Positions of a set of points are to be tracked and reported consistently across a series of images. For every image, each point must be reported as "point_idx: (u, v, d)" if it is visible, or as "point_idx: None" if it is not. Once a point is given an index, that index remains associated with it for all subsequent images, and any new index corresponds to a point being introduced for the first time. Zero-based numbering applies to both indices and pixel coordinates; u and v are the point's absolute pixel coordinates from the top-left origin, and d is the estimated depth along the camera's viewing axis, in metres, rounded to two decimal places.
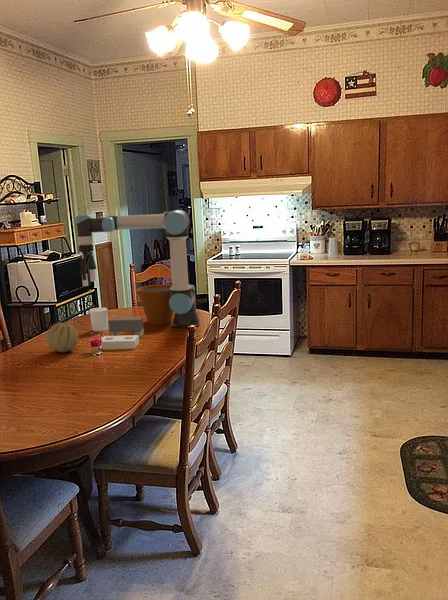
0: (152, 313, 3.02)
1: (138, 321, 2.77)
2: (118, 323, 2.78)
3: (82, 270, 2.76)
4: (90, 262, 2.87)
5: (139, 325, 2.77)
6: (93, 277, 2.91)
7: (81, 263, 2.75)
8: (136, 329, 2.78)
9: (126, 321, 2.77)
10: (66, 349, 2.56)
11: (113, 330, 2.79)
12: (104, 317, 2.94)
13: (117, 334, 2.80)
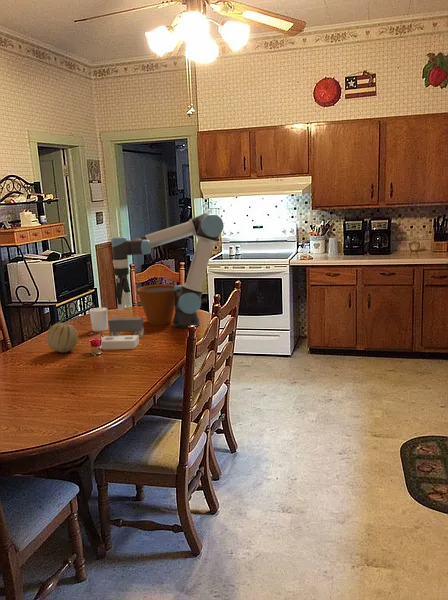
0: (152, 313, 3.02)
1: (138, 321, 2.77)
2: (118, 323, 2.78)
3: None
4: (124, 285, 2.80)
5: (139, 325, 2.77)
6: (127, 300, 2.84)
7: (117, 287, 2.68)
8: (136, 329, 2.78)
9: (126, 321, 2.77)
10: (66, 349, 2.56)
11: (113, 330, 2.79)
12: (104, 317, 2.94)
13: (117, 334, 2.80)
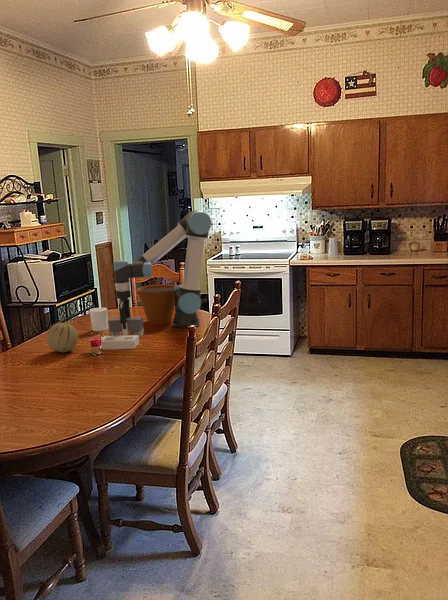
0: (152, 313, 3.02)
1: (138, 321, 2.77)
2: (119, 323, 2.78)
3: None
4: (126, 309, 2.80)
5: (139, 325, 2.77)
6: None
7: (120, 313, 2.73)
8: (136, 329, 2.78)
9: None
10: (66, 349, 2.56)
11: (113, 330, 2.79)
12: (104, 317, 2.94)
13: (117, 334, 2.80)
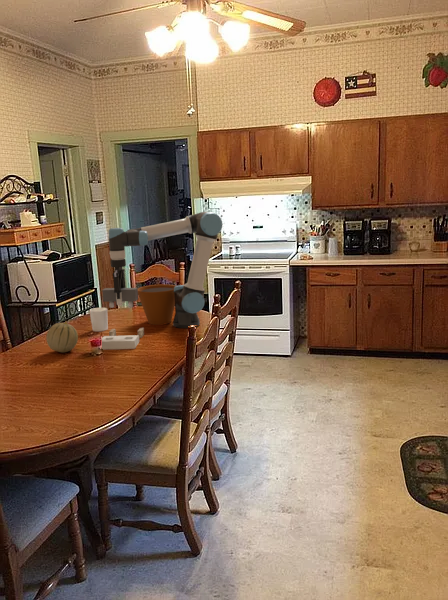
0: (152, 313, 3.02)
1: (133, 291, 2.69)
2: (113, 292, 2.70)
3: None
4: (121, 279, 2.73)
5: (134, 295, 2.69)
6: None
7: (114, 282, 2.65)
8: (130, 299, 2.70)
9: None
10: (66, 349, 2.56)
11: (107, 300, 2.71)
12: (104, 317, 2.94)
13: (111, 304, 2.73)
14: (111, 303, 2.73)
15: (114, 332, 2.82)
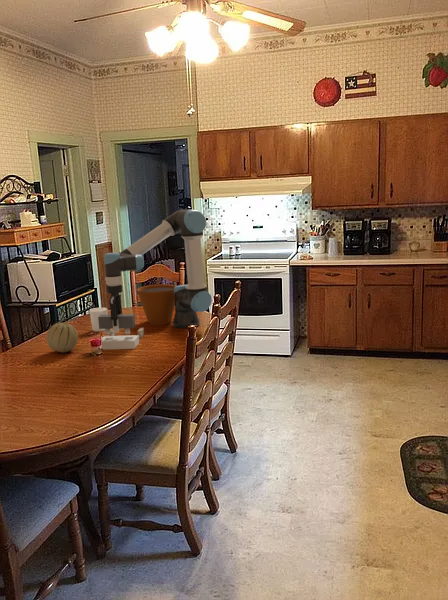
0: (152, 313, 3.02)
1: (130, 318, 2.60)
2: (109, 319, 2.61)
3: None
4: (117, 305, 2.64)
5: (131, 322, 2.60)
6: None
7: (111, 309, 2.56)
8: (128, 326, 2.61)
9: None
10: (66, 349, 2.56)
11: (103, 327, 2.62)
12: None
13: (107, 331, 2.64)
14: (107, 330, 2.63)
15: (114, 332, 2.82)
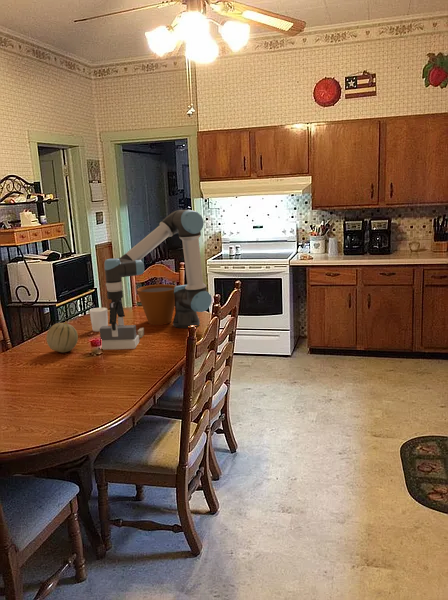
0: (152, 313, 3.02)
1: (131, 329, 2.61)
2: (110, 331, 2.62)
3: None
4: (119, 309, 2.66)
5: (132, 333, 2.62)
6: None
7: (110, 312, 2.54)
8: (129, 338, 2.62)
9: (118, 329, 2.62)
10: (66, 349, 2.56)
11: (105, 339, 2.63)
12: (104, 317, 2.94)
13: None
14: None
15: None
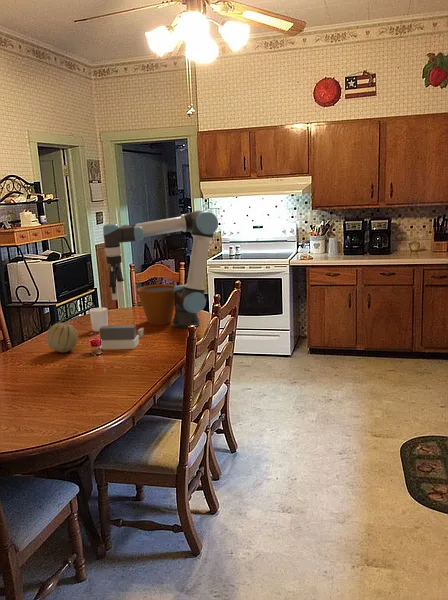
0: (152, 313, 3.02)
1: (131, 329, 2.61)
2: (110, 331, 2.62)
3: None
4: (118, 274, 2.72)
5: (132, 333, 2.62)
6: (121, 290, 2.76)
7: (110, 276, 2.60)
8: (129, 338, 2.62)
9: (118, 329, 2.62)
10: (66, 349, 2.56)
11: (105, 339, 2.63)
12: (104, 317, 2.94)
13: None
14: None
15: None
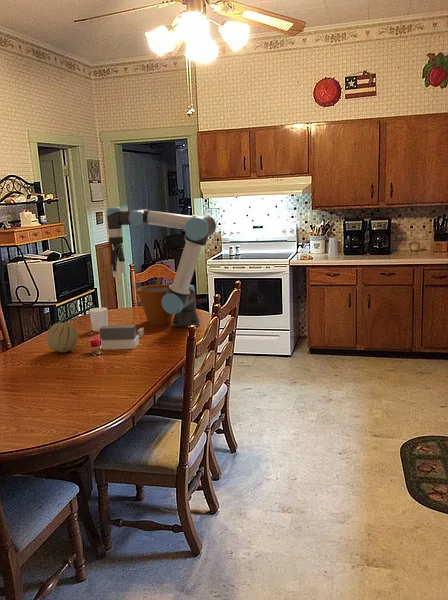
0: (152, 313, 3.02)
1: (131, 329, 2.61)
2: (110, 331, 2.62)
3: None
4: (119, 254, 2.94)
5: (132, 333, 2.62)
6: (122, 269, 2.98)
7: (112, 255, 2.82)
8: (129, 338, 2.62)
9: (118, 329, 2.62)
10: (66, 349, 2.56)
11: (105, 339, 2.63)
12: (104, 317, 2.94)
13: None
14: None
15: None
